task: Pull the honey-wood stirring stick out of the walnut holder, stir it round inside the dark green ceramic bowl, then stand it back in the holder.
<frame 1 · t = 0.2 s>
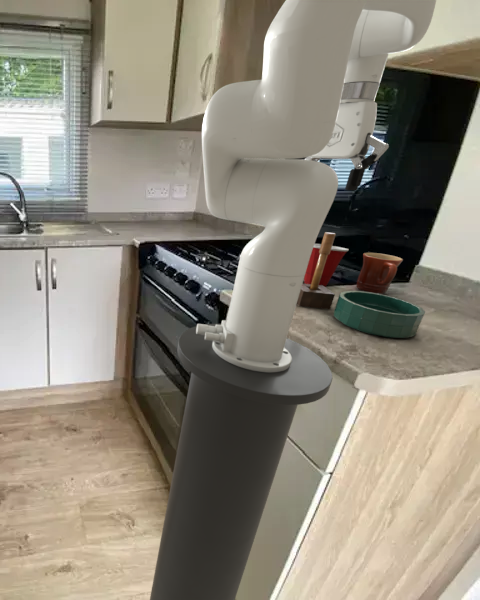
hand: (326, 188, 75), 28 cm above the worktop, tool pointing down, fingers open, 9 cm apart
mug: (372, 293, 101), on the worktop
stick: (319, 269, 88), in the holder
holder: (309, 302, 91), on the worktop
plastic cup: (314, 284, 107), on the worktop
bowl: (371, 324, 79), on the worktop
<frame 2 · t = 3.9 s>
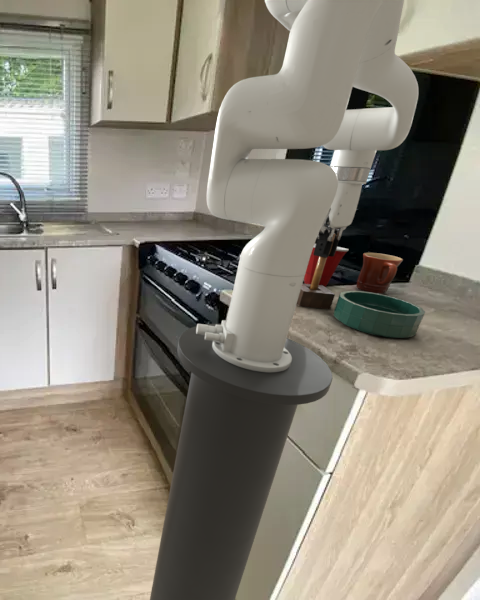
hand: (323, 255, 86), 13 cm above the worktop, tool pointing down, fingers closed on stick, 2 cm apart
stick: (319, 269, 88), in the holder, touching gripper
everything else where it was.
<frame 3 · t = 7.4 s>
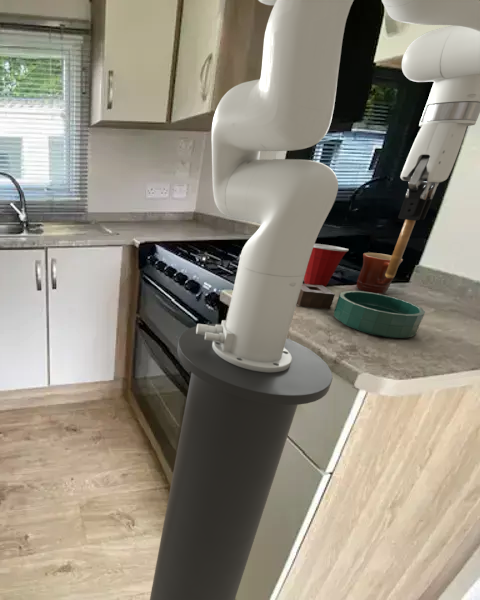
hand: (411, 218, 71), 24 cm above the worktop, tool pointing down, fingers closed on stick, 2 cm apart
stick: (404, 236, 72), point 20 cm above the worktop, touching gripper
everything else where it was.
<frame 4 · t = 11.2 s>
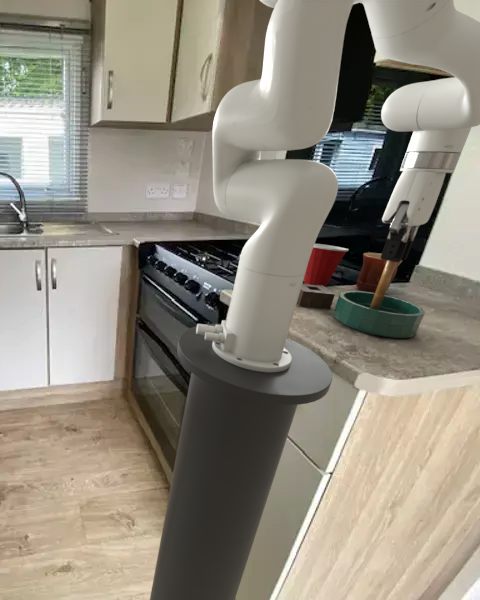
hand: (392, 259, 72), 15 cm above the worktop, tool pointing down, fingers closed on stick, 2 cm apart
stick: (386, 275, 74), point 12 cm above the worktop, touching gripper
everything else where it was.
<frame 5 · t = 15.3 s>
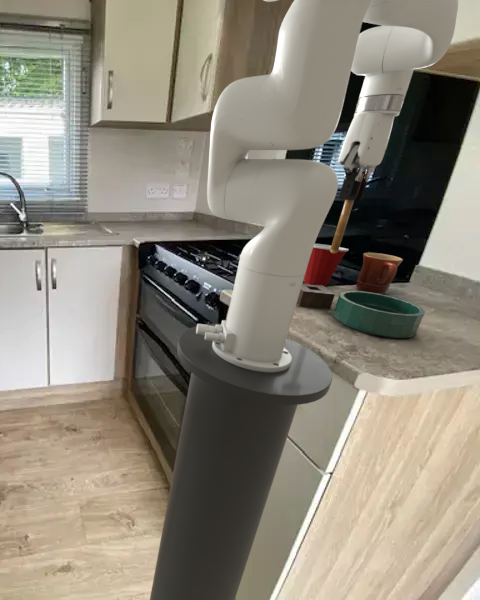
hand: (350, 199, 80), 26 cm above the worktop, tool pointing down, fingers closed on stick, 2 cm apart
stick: (345, 215, 81), point 22 cm above the worktop, touching gripper
everything else where it was.
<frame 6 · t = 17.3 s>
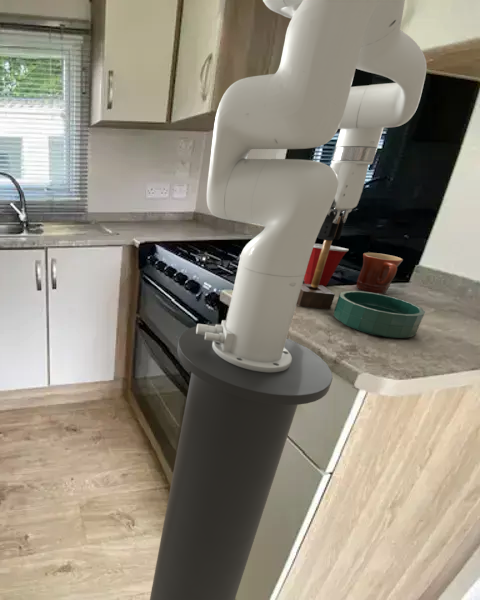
hand: (328, 238, 85), 17 cm above the worktop, tool pointing down, fingers closed on stick, 2 cm apart
stick: (324, 253, 86), point 13 cm above the worktop, touching gripper
everything else where it was.
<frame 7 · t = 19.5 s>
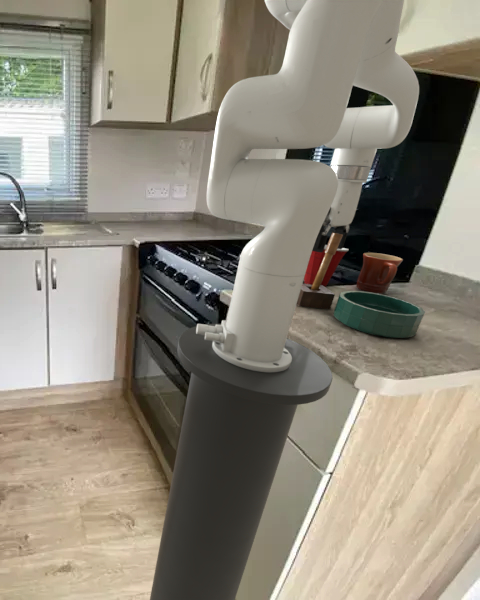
hand: (325, 249, 86), 14 cm above the worktop, tool pointing down, fingers open, 9 cm apart
stick: (322, 269, 88), in the holder, tilted 8°
everything else where it was.
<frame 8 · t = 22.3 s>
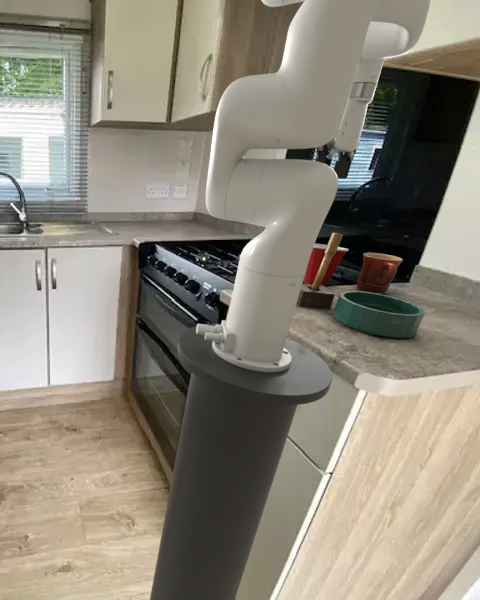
hand: (329, 177, 84), 30 cm above the worktop, tool pointing down, fingers open, 9 cm apart
nothing on the worktop moved.
at the end: stick 0.1 cm off-centre in the holder, point 8.9 cm above the holder's base; stick tilted 8°; the gripper is holding nothing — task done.
